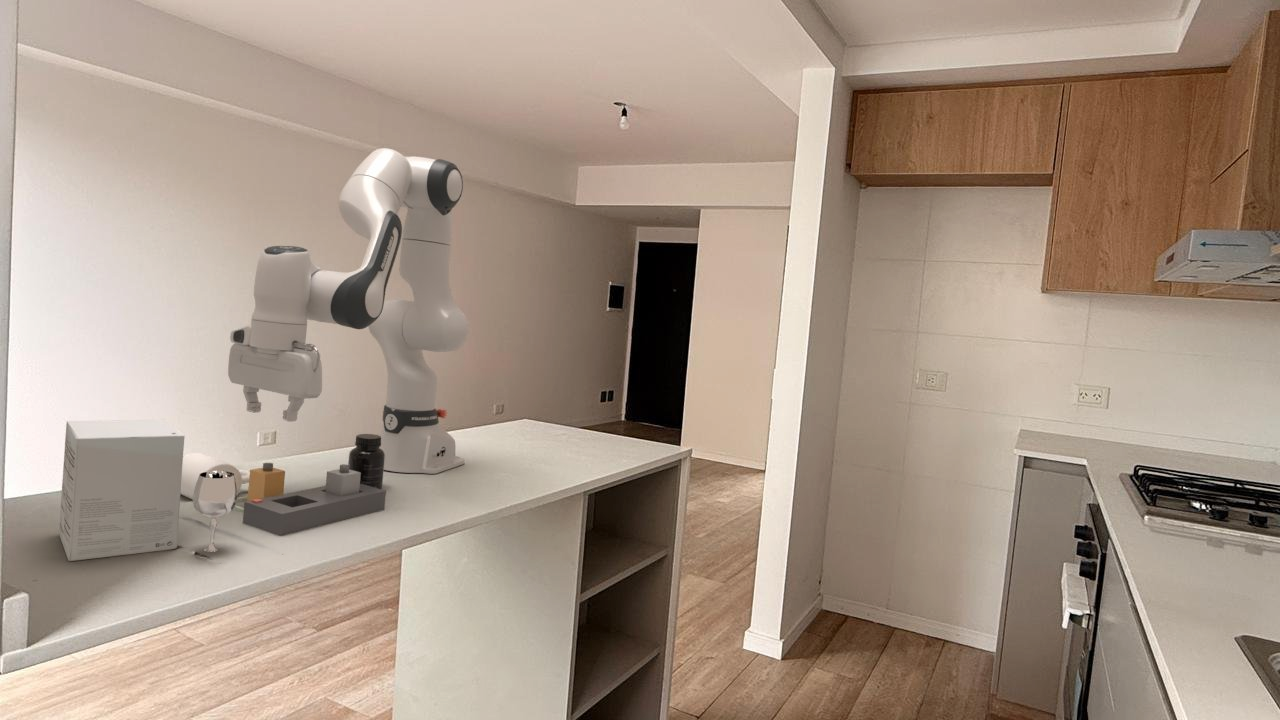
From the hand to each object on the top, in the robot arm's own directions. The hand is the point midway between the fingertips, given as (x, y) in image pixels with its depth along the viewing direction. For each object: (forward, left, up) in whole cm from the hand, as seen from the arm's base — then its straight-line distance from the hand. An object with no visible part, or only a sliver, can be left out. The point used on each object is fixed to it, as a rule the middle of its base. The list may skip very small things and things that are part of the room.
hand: (271, 416), depth 133 cm
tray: (0, 0, -17) cm, 17 cm away
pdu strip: (-2, +11, -17) cm, 21 cm away
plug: (0, 0, -17) cm, 17 cm away
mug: (+1, -12, -18) cm, 21 cm away
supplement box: (+24, -1, -18) cm, 30 cm away
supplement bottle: (-21, +2, -18) cm, 28 cm away
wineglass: (+18, +12, -18) cm, 28 cm away
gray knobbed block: (-7, +11, -16) cm, 21 cm away
